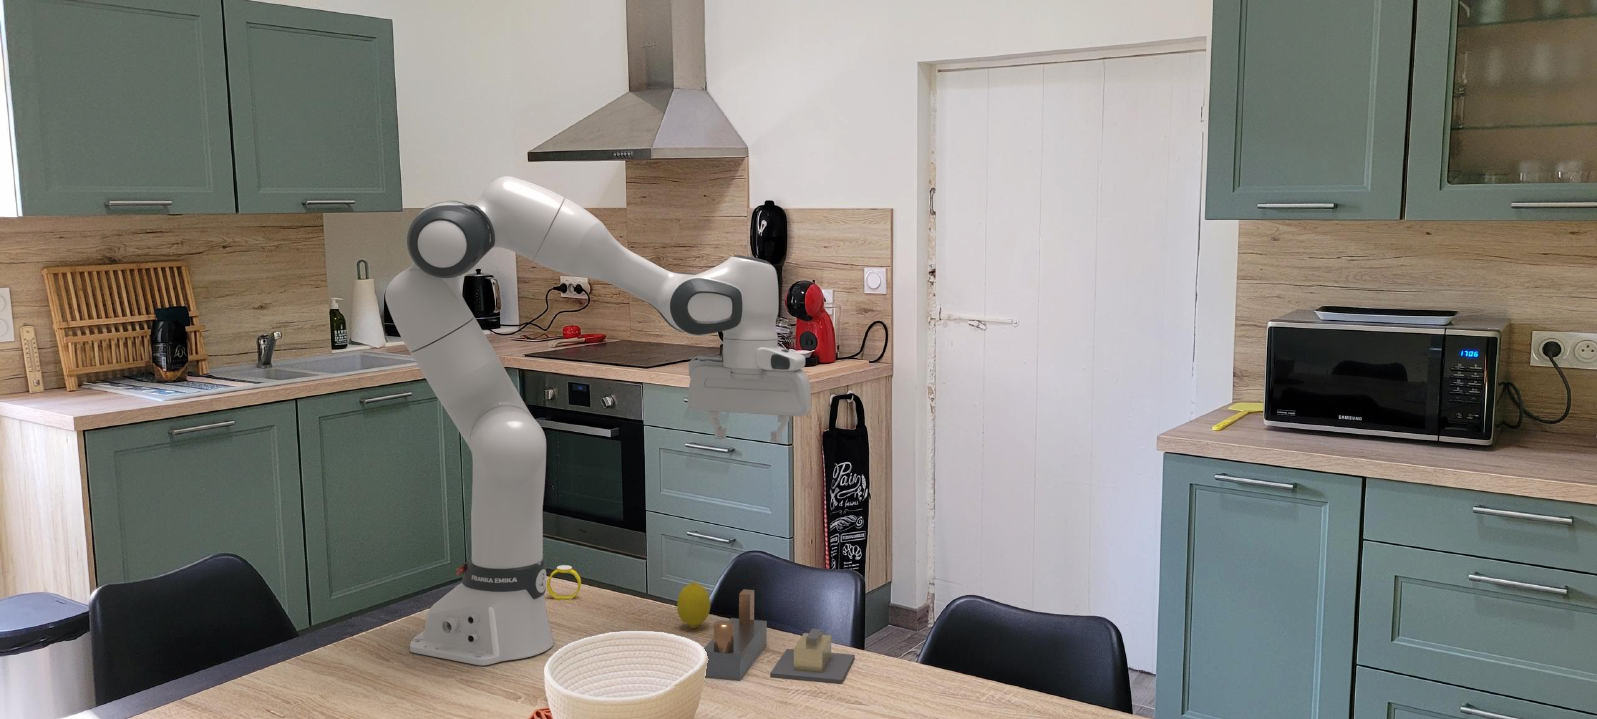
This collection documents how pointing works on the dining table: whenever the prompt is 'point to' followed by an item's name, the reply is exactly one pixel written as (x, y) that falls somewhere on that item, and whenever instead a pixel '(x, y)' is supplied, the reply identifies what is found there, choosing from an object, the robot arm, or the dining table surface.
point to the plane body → (736, 642)
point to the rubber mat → (831, 673)
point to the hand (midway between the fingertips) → (748, 440)
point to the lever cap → (812, 652)
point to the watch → (564, 570)
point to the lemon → (693, 604)
